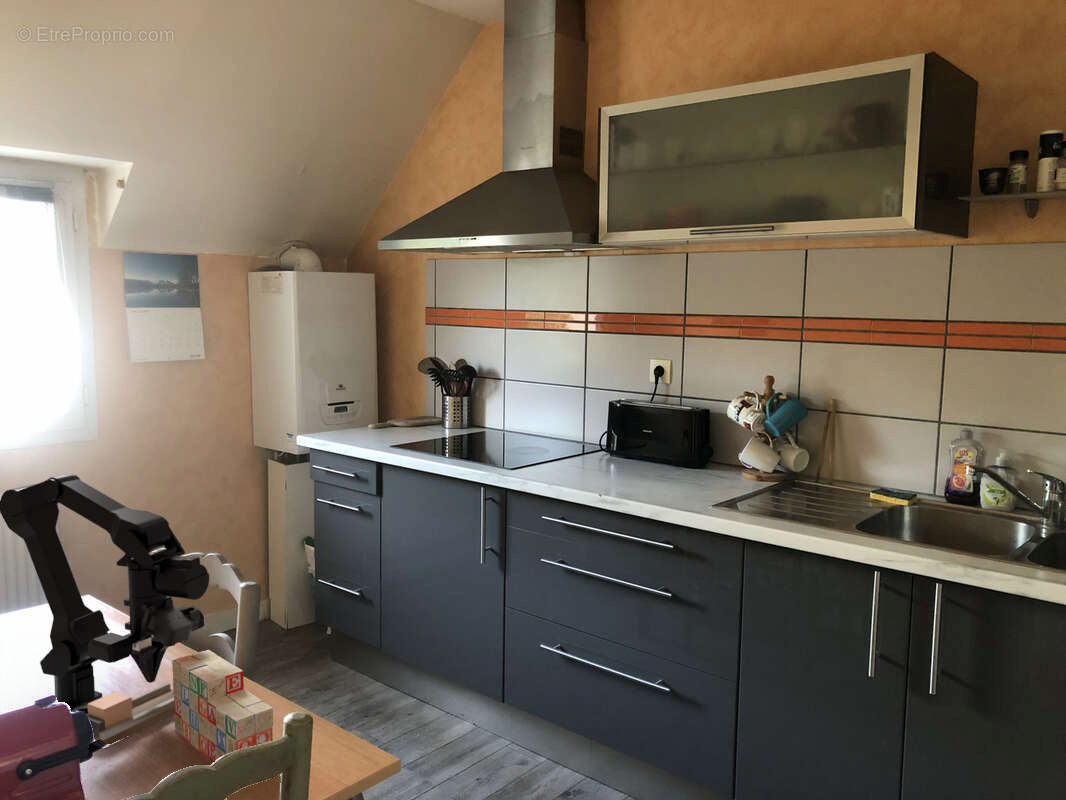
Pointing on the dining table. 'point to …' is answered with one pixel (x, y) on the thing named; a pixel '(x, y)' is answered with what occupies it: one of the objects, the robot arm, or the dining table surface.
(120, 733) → the track
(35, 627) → the dining table surface
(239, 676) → the stack of blocks
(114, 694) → the block
